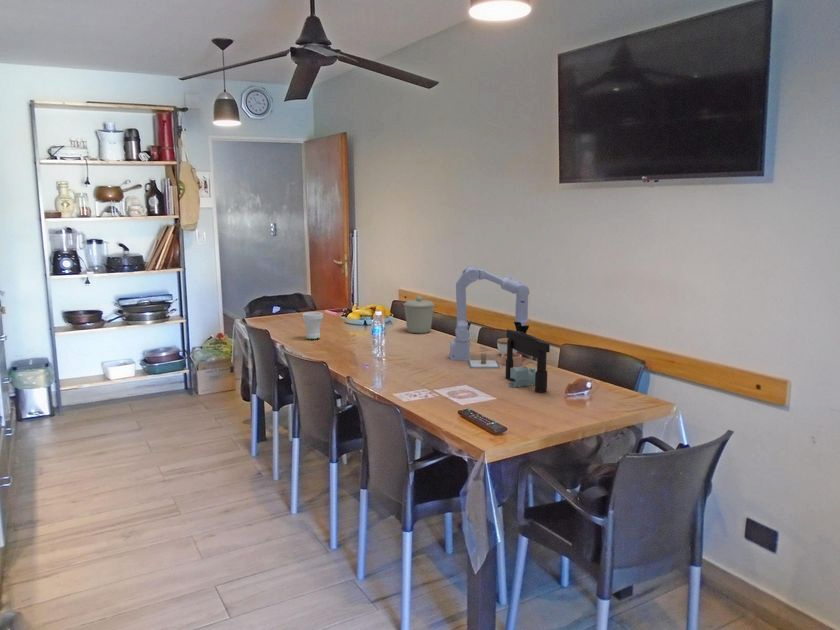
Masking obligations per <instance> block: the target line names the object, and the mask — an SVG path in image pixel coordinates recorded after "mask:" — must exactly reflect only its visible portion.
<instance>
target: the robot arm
mask: <svg viewBox="0 0 840 630" xmlns="http://www.w3.org/2000/svg"><path fill="white" fill-rule="evenodd" d="M477 280H479V281H480V280H487V281H490V282H493V283H495V284H498V285H499V286H500V288H501V289H502V290H504V291H507V292H509V293H511V294H514V295H515V294H516V295H515V297H516V298H515V312H514V313H515V318H514V321H513V323H514V327H515V331H519V332H523V333H526V334H527V333H528V332H527V331H528V329H529V327H530V325H527V323H528V322H530V321H531V319H530V318H529V317H528V314H529V313H528V312H529V311H528V310H529V307H528V306H529V295H530V293H531V292H530V289H529V287H528V286H526V285H525V284H524V283H522V282H520V281H516V280H514V279H513V278H512V277H504V278H501V277H500V276H498V275H496V274H493V273H491V272H489V271H487V270H484V269H482V268H478V267H475V266H471V265H470V266H467V267H466V268H465V269H463V270H462V272H461V274H460V275H459V277H458V279H457V281H456V282H455V298H456V299H455V300H456V303H455V304H456V327H455V330H454V334H455V336H456V337H455V338H454V340H450V341H449V342H450V343H449V358H450V359H449V360H450V361H469V360H472V359H471V355H470V345H471V342H470V335H471V334H470V331H469V330H468V320H467V319H468V318H467V317H468V315H467V291H466V289H467V287H468V286H470V285H471V284H472V283H474V282H476V281H477Z"/></svg>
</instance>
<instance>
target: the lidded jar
mask: <svg viewBox="0 0 840 630" xmlns="http://www.w3.org/2000/svg"><path fill="white" fill-rule="evenodd" d="M507 340H508V338H507V337H502V338H498V339H497V340H496V344H497V345H496V346H497V351H498V353H499V354H500V355H501V354H505V353H507ZM518 352H519V351H517V350H515V349H513V353H516V354H518Z"/></svg>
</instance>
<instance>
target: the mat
mask: <svg viewBox="0 0 840 630" xmlns="http://www.w3.org/2000/svg"><path fill="white" fill-rule="evenodd" d="M466 361H467V365H468V368H469V369H476V370H477V369H481V370H482V369H488V370H489V369H490V368H471V365H470V362H469V360H466ZM495 361H496V363H497V365H498V368H497V369H501V366H500V364H499V362H498V361H497V360H495Z"/></svg>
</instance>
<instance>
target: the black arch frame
mask: <svg viewBox="0 0 840 630" xmlns="http://www.w3.org/2000/svg"><path fill="white" fill-rule="evenodd" d="M505 334H506V338H508V340H507V359H506V366H505V379H507V380H508V382H510V383H508V387H511V388H516V387H517V388H522V387H530V386H534V392H536V393H537V392H538V393H545V392H547V391H548V370H547V354H548V353H550V347H551V346H550V344H551V343H549V342H547V341H545V340H543V339H541V338H538V337H536V336H533V335H531V334H529V333H527V332H526V333H523V332H519V331H516V330H514V329H509V328H507V329H506V333H505ZM513 349H515V350H517V351H518V352H520V353H522V354H524V355H527V356H528V357H532V358H535V359H536V368H535V367H529V368H528V367H527V366H525V365H524V366H517V367H513ZM532 384H534V385H532ZM525 385H526V386H525Z"/></svg>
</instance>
